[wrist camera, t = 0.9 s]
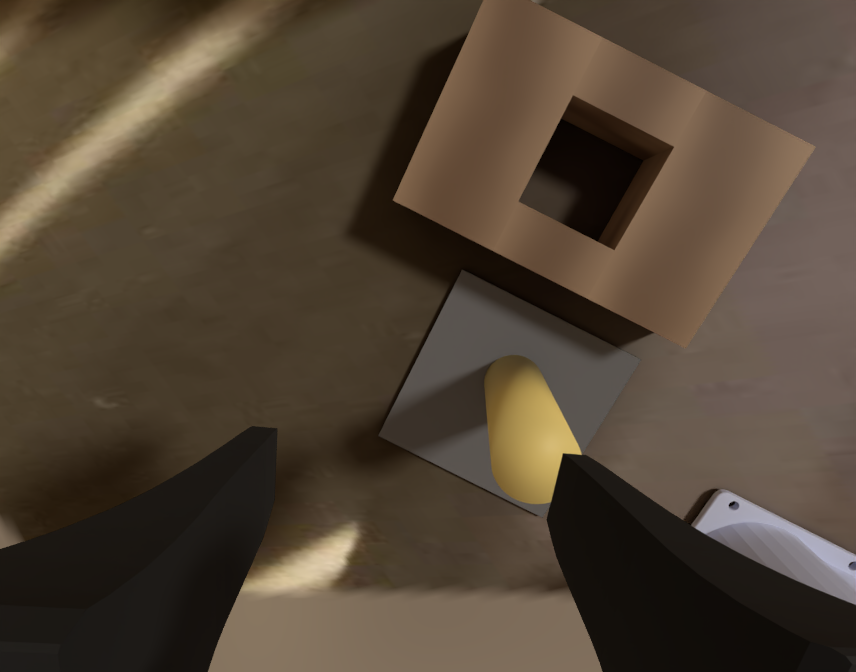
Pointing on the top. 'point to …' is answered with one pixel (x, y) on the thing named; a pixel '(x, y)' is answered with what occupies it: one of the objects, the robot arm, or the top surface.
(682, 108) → the walnut block
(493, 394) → the peg
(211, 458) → the robot arm
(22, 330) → the top surface
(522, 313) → the mat
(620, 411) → the top surface
